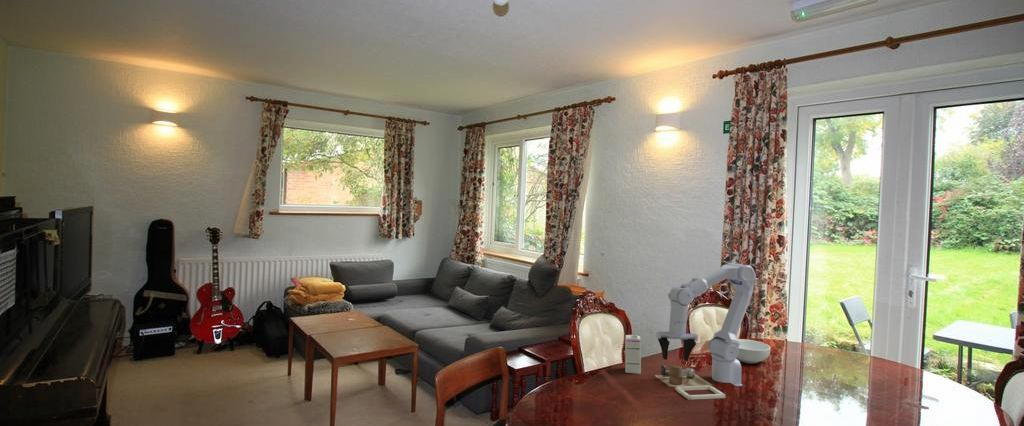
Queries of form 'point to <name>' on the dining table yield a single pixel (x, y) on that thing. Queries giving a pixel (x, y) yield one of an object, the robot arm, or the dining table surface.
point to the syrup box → (632, 354)
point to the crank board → (685, 381)
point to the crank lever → (688, 372)
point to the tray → (707, 396)
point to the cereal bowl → (752, 351)
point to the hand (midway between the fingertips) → (675, 359)
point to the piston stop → (675, 375)
